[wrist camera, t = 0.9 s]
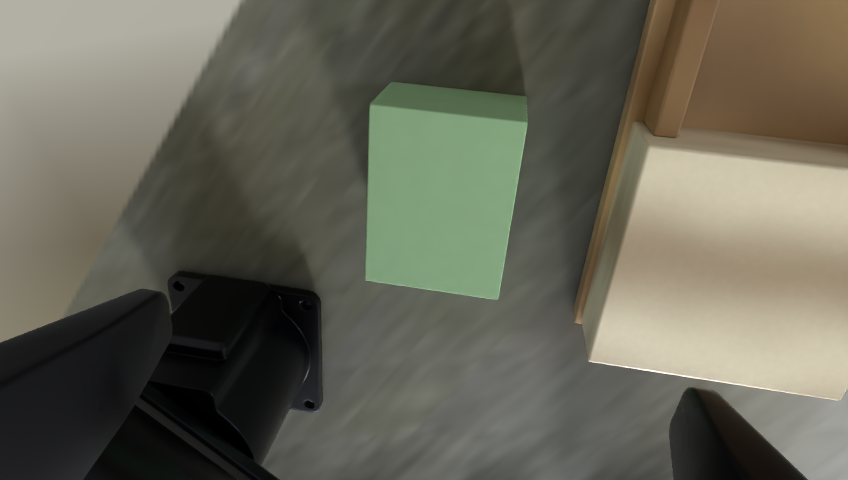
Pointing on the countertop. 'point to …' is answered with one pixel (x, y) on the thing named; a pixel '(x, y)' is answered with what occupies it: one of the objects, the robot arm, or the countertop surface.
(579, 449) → the countertop surface
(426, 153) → the green rectangular block
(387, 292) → the countertop surface
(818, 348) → the frame
